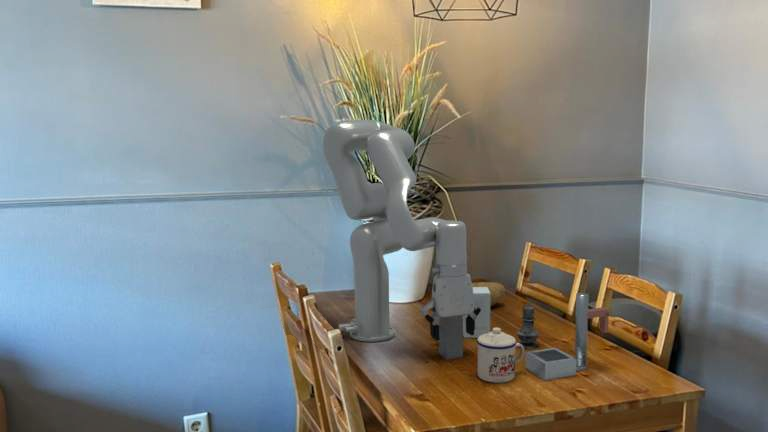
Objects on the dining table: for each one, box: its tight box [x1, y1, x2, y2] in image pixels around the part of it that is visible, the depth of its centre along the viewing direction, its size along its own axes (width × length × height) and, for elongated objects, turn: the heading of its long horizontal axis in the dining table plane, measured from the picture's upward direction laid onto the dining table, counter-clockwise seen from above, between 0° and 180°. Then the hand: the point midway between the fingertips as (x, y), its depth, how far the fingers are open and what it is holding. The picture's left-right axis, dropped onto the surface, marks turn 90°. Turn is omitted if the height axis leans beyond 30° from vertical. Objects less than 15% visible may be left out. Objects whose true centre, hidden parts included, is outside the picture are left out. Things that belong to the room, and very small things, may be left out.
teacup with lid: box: [476, 327, 525, 384], centre depth 166 cm, size 12×9×12 cm
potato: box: [472, 281, 506, 307], centre depth 224 cm, size 10×14×8 cm
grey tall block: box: [438, 315, 464, 360], centre depth 180 cm, size 5×5×12 cm
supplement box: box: [463, 287, 491, 339], centre depth 197 cm, size 7×7×13 cm
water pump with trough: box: [524, 292, 610, 381], centre depth 170 cm, size 20×8×18 cm, turn 111°
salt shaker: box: [516, 301, 540, 350], centre depth 187 cm, size 6×6×12 cm
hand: (452, 336), depth 180 cm, fingers open, 9 cm apart
